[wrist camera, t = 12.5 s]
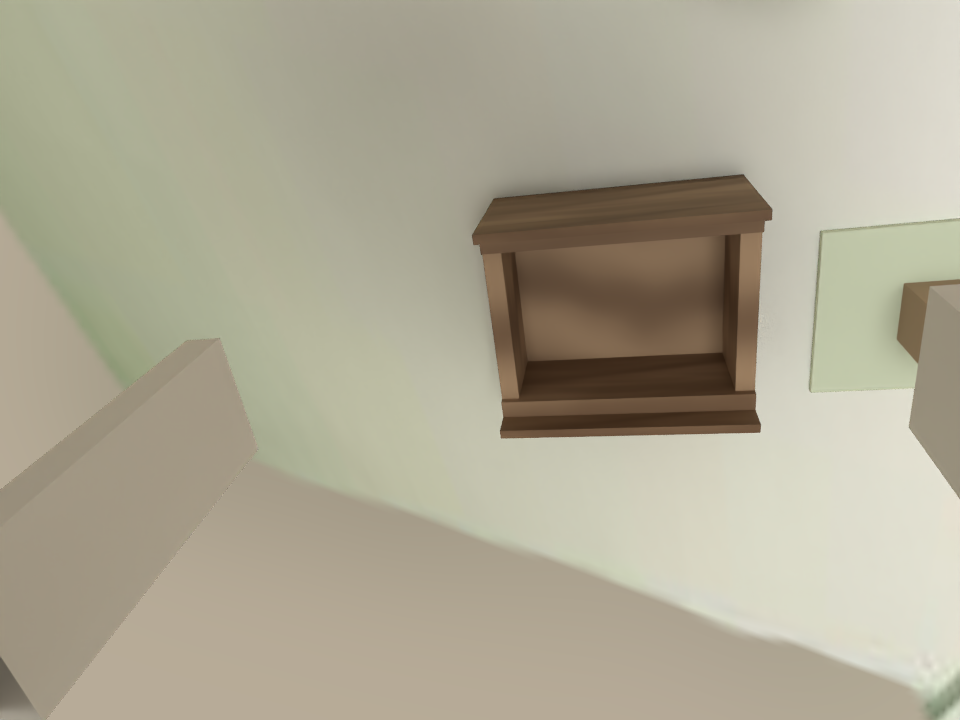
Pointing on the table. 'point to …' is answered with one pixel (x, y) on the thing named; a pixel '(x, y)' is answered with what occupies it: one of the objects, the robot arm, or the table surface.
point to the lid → (877, 302)
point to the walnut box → (626, 308)
